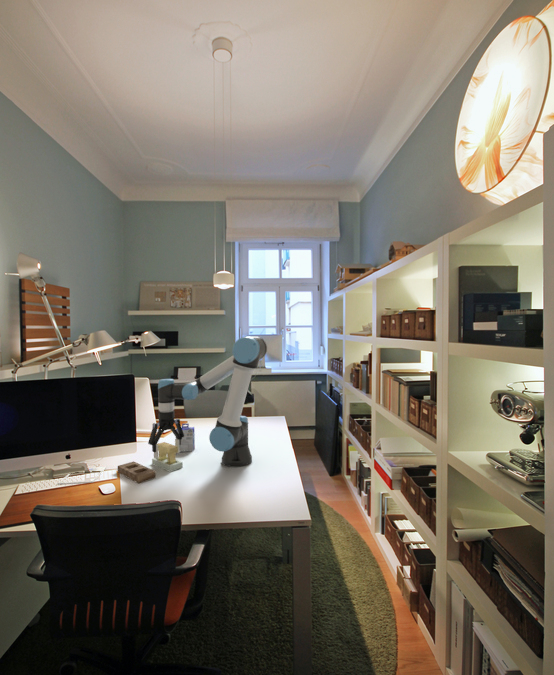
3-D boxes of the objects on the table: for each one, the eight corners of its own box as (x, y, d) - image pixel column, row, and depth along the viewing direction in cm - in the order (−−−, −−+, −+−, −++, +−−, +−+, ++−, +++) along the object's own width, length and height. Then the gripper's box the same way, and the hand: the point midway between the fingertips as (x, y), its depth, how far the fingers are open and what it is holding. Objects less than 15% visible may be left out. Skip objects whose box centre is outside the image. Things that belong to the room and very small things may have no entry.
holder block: (182, 467, 179) (182, 462, 179) (169, 471, 173) (169, 466, 173) (164, 460, 189) (164, 455, 189) (152, 463, 184) (152, 458, 184)
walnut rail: (155, 477, 166) (155, 471, 166) (138, 483, 160) (138, 476, 160) (133, 467, 179) (133, 461, 179) (117, 472, 173) (117, 465, 173)
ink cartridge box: (195, 448, 209) (194, 422, 209) (193, 451, 203) (193, 425, 203) (177, 449, 208) (176, 423, 208) (175, 452, 202) (175, 425, 202)
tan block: (177, 467, 179) (177, 446, 179) (169, 469, 176) (169, 448, 176) (164, 461, 187) (164, 442, 187) (156, 464, 184) (156, 444, 184)
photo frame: (107, 466, 179) (93, 480, 162) (107, 468, 179) (93, 483, 162) (75, 467, 178) (57, 482, 160) (75, 470, 178) (57, 485, 160)
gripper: (182, 406, 192) (183, 448, 193) (140, 413, 175) (140, 459, 175) (191, 407, 187) (191, 451, 188) (148, 415, 170) (148, 463, 170)
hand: (167, 455), depth 181 cm, fingers open, 11 cm apart
